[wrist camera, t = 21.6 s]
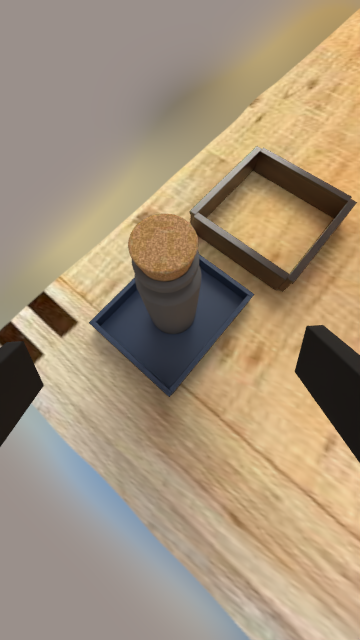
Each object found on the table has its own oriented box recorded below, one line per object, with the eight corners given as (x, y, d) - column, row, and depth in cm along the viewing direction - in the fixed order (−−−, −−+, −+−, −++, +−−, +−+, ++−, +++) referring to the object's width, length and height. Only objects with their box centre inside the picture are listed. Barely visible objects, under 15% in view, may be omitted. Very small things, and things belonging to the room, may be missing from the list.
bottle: (144, 326, 29) (105, 267, 14) (159, 287, 30) (138, 197, 16) (187, 340, 28) (192, 292, 14) (200, 299, 29) (217, 217, 15)
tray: (176, 246, 33) (175, 236, 30) (249, 300, 30) (254, 294, 28) (95, 327, 29) (88, 322, 27) (170, 396, 26) (169, 397, 24)
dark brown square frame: (251, 164, 37) (258, 144, 34) (342, 217, 34) (358, 200, 30) (187, 228, 33) (187, 212, 30) (281, 295, 30) (292, 284, 27)
